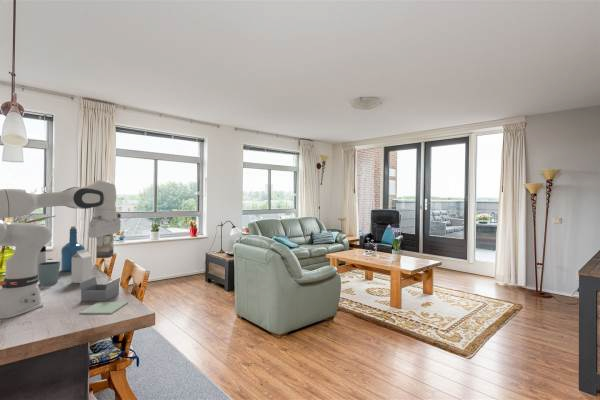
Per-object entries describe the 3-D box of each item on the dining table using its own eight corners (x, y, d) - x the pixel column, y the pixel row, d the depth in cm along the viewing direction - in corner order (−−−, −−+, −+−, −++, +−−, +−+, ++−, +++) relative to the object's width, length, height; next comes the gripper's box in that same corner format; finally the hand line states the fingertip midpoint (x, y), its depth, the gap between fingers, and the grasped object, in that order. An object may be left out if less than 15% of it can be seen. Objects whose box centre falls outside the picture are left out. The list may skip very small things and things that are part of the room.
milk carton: (91, 280, 193) (91, 249, 193) (82, 283, 186) (82, 251, 186) (80, 279, 194) (81, 248, 194) (71, 283, 187) (71, 250, 187)
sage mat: (111, 314, 140) (111, 312, 140) (79, 313, 140) (79, 312, 140) (127, 303, 154) (127, 302, 154) (98, 303, 154) (98, 301, 154)
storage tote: (107, 301, 157) (107, 283, 157) (79, 301, 156) (79, 282, 156) (120, 293, 169) (120, 276, 169) (94, 293, 168) (94, 276, 168)
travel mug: (44, 276, 201) (44, 244, 200) (47, 278, 196) (47, 246, 196) (31, 278, 196) (31, 246, 196) (34, 280, 192) (34, 247, 191)
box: (107, 258, 146) (107, 236, 146) (96, 257, 146) (96, 236, 146) (113, 255, 151) (113, 235, 151) (102, 255, 151) (102, 234, 151)
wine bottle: (88, 269, 221) (88, 226, 221) (66, 273, 210) (66, 227, 210) (78, 266, 229) (79, 225, 228) (57, 270, 217) (57, 226, 217)
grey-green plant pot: (33, 285, 180) (33, 264, 180) (46, 281, 191) (47, 261, 190) (51, 285, 181) (51, 264, 181) (64, 281, 191) (64, 261, 191)
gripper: (99, 217, 138) (98, 248, 138) (123, 214, 158) (122, 241, 159) (84, 216, 138) (83, 248, 138) (110, 214, 158) (109, 241, 158)
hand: (104, 245), depth 148 cm, fingers closed on box, 5 cm apart
